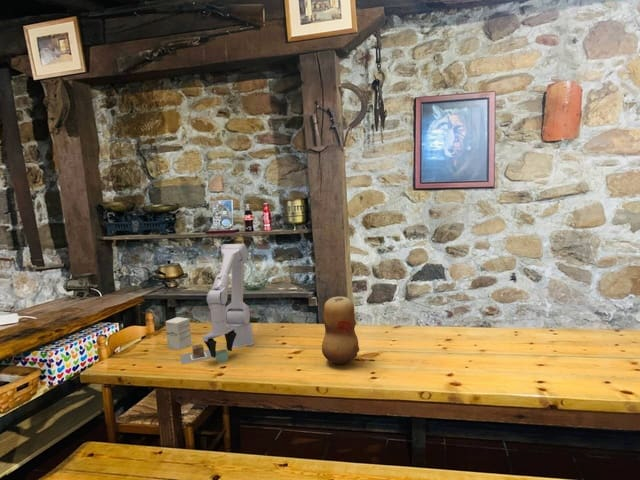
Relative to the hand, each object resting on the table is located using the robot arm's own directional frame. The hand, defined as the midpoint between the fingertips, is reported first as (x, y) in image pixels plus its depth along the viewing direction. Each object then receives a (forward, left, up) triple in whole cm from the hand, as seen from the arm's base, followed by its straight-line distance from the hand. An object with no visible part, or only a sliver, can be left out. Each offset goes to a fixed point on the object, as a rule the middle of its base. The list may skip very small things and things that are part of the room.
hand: (221, 353), depth 166 cm
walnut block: (+8, -9, -3) cm, 12 cm away
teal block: (0, 0, -3) cm, 3 cm away
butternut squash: (-40, +25, -3) cm, 47 cm away
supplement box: (+14, -25, -3) cm, 29 cm away
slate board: (+8, -9, -3) cm, 12 cm away
